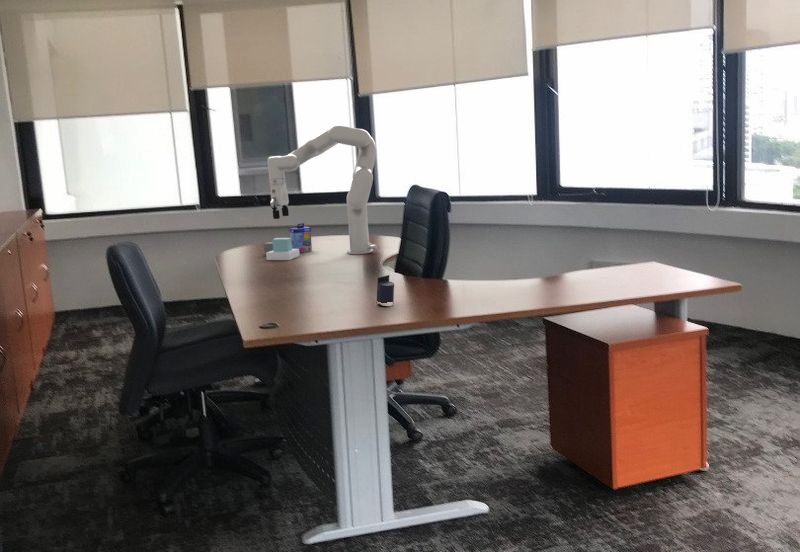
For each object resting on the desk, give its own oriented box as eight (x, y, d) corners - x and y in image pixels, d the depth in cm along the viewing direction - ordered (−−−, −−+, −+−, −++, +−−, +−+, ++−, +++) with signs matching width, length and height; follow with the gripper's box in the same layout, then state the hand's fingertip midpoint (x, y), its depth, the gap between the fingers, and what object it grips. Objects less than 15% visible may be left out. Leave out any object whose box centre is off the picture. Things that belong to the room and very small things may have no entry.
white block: (299, 255, 448) (299, 248, 447) (289, 260, 436) (288, 252, 436) (277, 255, 452) (277, 248, 451) (266, 259, 440) (266, 252, 440)
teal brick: (292, 250, 444) (291, 237, 443) (288, 251, 440) (287, 239, 439) (277, 250, 447) (276, 237, 446) (273, 251, 443) (272, 239, 442)
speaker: (372, 303, 327) (373, 275, 325) (387, 302, 330) (388, 274, 327) (380, 309, 321) (381, 281, 318) (395, 308, 323) (396, 280, 320)
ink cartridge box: (295, 253, 456) (292, 224, 454) (290, 252, 461) (288, 223, 459) (312, 250, 461) (310, 222, 459) (308, 249, 466) (306, 221, 463)
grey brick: (283, 253, 457) (282, 242, 456) (279, 255, 453) (278, 243, 452) (269, 253, 460) (268, 242, 459) (265, 255, 456) (264, 243, 455)
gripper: (276, 183, 428) (280, 219, 431) (292, 179, 444) (295, 214, 447) (262, 184, 431) (266, 220, 434) (278, 180, 447) (282, 215, 450)
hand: (281, 217), depth 440 cm, fingers open, 9 cm apart
